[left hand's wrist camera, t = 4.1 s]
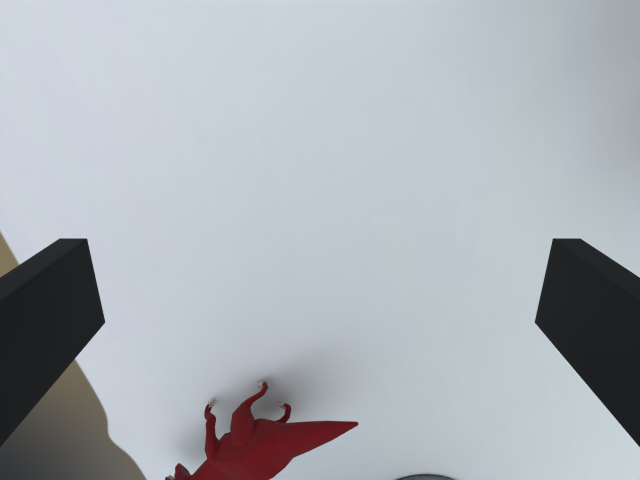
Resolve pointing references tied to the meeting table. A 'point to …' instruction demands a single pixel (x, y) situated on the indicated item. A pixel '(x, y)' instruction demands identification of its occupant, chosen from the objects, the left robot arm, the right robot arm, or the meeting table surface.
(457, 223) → the meeting table surface
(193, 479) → the toy
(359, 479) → the meeting table surface
